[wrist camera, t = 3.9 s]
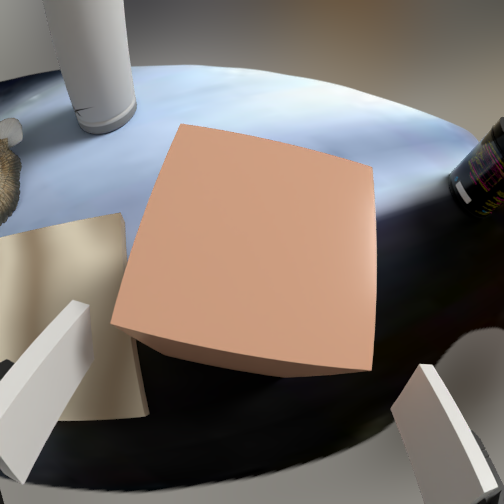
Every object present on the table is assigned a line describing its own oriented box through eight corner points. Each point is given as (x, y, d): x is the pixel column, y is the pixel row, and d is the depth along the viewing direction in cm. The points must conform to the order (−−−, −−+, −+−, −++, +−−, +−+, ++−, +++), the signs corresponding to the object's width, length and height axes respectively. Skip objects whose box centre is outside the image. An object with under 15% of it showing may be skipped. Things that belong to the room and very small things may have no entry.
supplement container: (492, 210, 29) (546, 164, 20) (471, 230, 27) (535, 179, 18) (462, 166, 31) (509, 114, 22) (437, 179, 29) (491, 119, 20)
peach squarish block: (283, 377, 20) (371, 370, 9) (164, 355, 19) (110, 323, 8) (298, 267, 23) (372, 167, 12) (190, 245, 22) (180, 123, 12)
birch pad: (-25, 413, 14) (-36, 413, 13) (-29, 254, 19) (-38, 247, 18) (149, 413, 18) (145, 416, 16) (124, 222, 22) (120, 212, 21)
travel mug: (78, 145, 25) (21, -49, 7) (80, 103, 27) (44, -61, 9) (139, 128, 26) (118, -79, 8) (135, 89, 29) (121, -82, 10)
